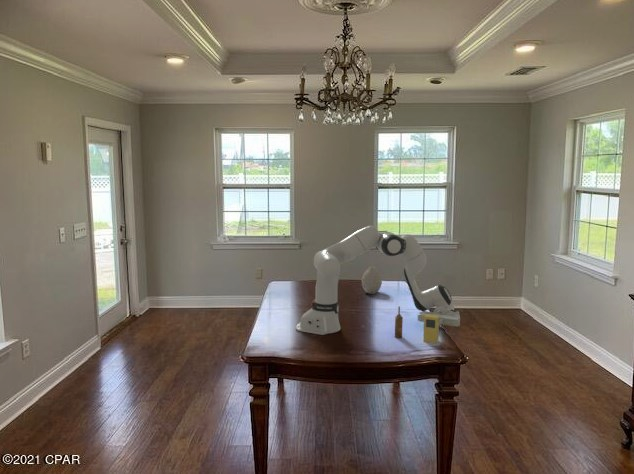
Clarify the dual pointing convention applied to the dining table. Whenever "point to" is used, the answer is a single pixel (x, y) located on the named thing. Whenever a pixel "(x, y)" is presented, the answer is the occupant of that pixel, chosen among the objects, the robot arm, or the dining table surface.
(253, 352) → the dining table surface
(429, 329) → the block
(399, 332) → the awl
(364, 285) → the vase
